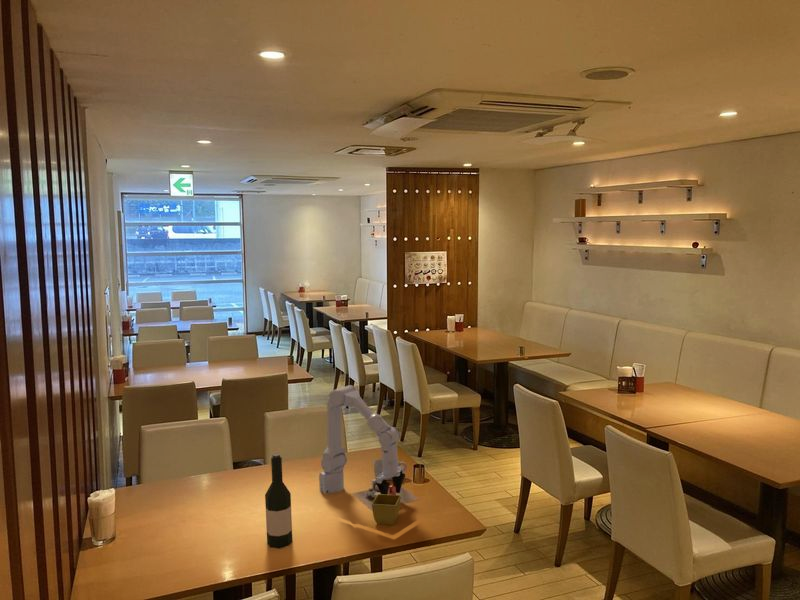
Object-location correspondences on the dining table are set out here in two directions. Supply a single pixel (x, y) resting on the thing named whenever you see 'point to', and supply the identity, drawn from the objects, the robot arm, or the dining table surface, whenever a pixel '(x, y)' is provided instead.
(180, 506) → the dining table surface
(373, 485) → the anvil
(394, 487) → the lever
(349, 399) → the robot arm
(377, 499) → the flower pot
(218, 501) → the dining table surface
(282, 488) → the wine bottle
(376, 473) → the teacup
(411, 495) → the bench board
